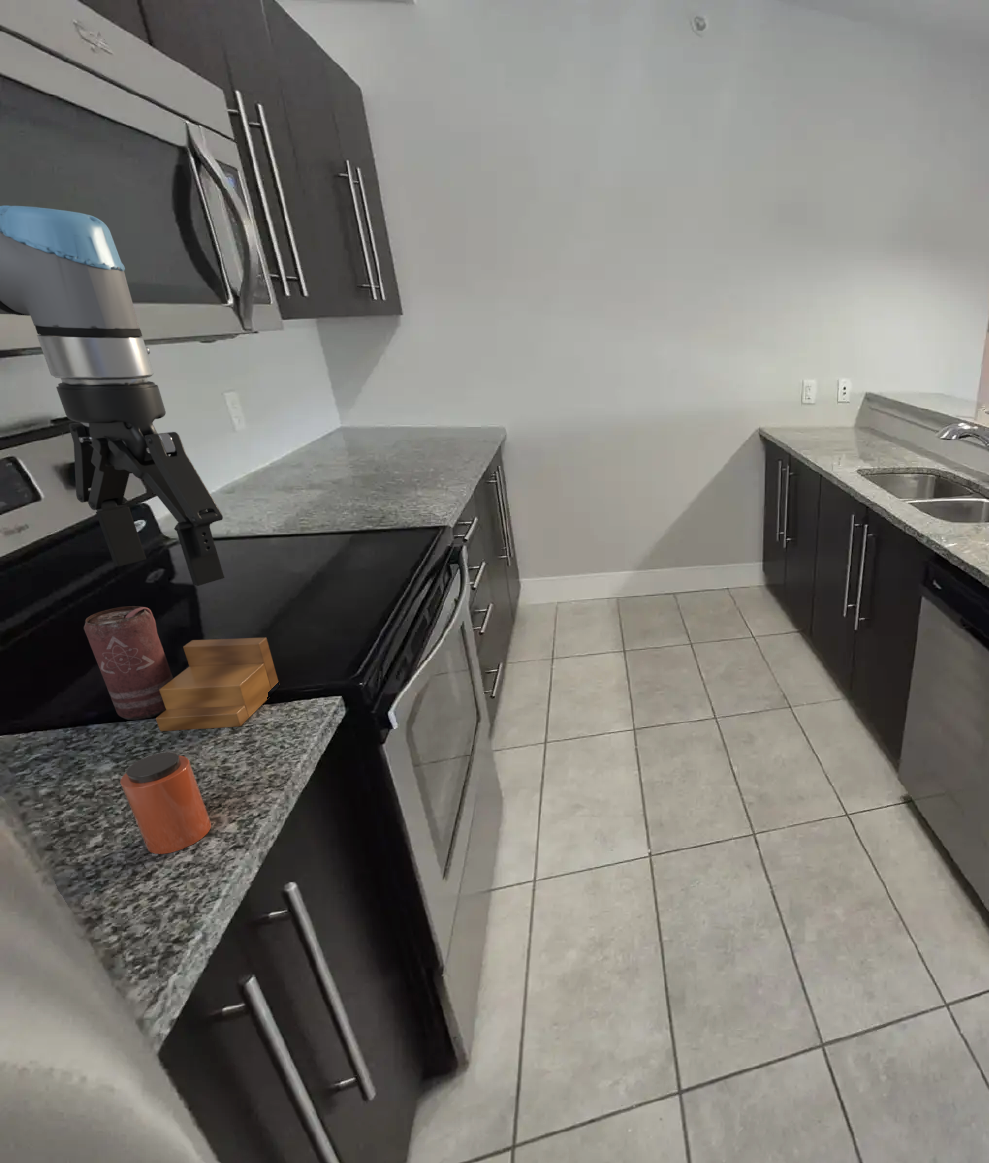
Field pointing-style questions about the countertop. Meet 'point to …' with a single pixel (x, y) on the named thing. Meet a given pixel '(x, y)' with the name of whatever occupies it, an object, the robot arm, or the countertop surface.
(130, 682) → the can
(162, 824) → the spice jar
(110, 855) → the countertop surface
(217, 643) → the wooden stair steps
